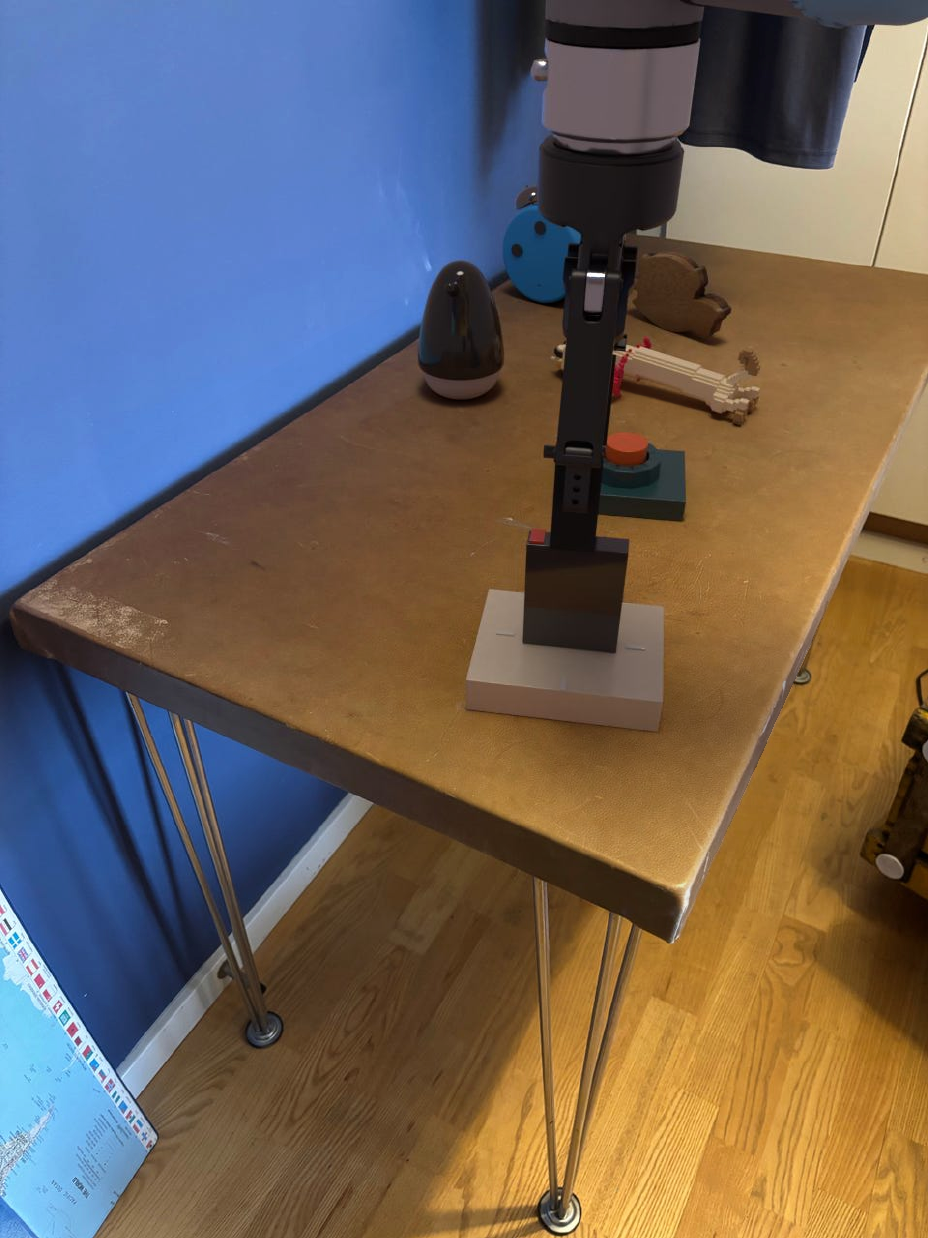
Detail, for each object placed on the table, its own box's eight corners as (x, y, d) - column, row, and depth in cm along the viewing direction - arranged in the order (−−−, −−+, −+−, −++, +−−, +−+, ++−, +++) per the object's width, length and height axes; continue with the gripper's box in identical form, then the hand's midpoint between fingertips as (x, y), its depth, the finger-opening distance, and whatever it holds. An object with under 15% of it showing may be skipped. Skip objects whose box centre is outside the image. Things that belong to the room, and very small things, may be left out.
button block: (681, 469, 94) (687, 434, 92) (682, 521, 87) (688, 485, 84) (566, 460, 96) (568, 426, 94) (557, 510, 89) (559, 474, 86)
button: (646, 449, 90) (648, 433, 89) (645, 469, 87) (647, 453, 86) (605, 446, 91) (607, 430, 90) (603, 466, 88) (605, 449, 87)
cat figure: (758, 410, 108) (572, 349, 117) (780, 339, 102) (582, 282, 111) (729, 444, 101) (534, 377, 110) (750, 371, 95) (542, 307, 105)
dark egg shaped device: (408, 405, 107) (401, 273, 97) (431, 369, 115) (427, 244, 105) (493, 414, 105) (494, 280, 95) (511, 376, 113) (514, 250, 103)
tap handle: (617, 638, 69) (629, 535, 63) (615, 653, 67) (629, 550, 62) (525, 628, 70) (529, 526, 64) (521, 643, 68) (526, 541, 63)
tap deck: (659, 634, 74) (664, 603, 72) (657, 733, 65) (663, 701, 63) (488, 616, 76) (489, 586, 74) (465, 710, 67) (465, 678, 65)
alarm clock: (597, 301, 133) (606, 191, 123) (574, 314, 129) (582, 201, 119) (522, 283, 139) (526, 177, 129) (499, 295, 135) (501, 186, 126)
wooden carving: (733, 339, 121) (747, 263, 115) (714, 349, 119) (727, 271, 112) (634, 308, 130) (641, 236, 124) (614, 317, 128) (621, 243, 122)
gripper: (562, 90, 57) (544, 403, 71) (506, 197, 38) (497, 597, 52) (683, 93, 56) (642, 410, 70) (689, 205, 37) (631, 611, 51)
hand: (580, 490), depth 61 cm, fingers open, 13 cm apart
